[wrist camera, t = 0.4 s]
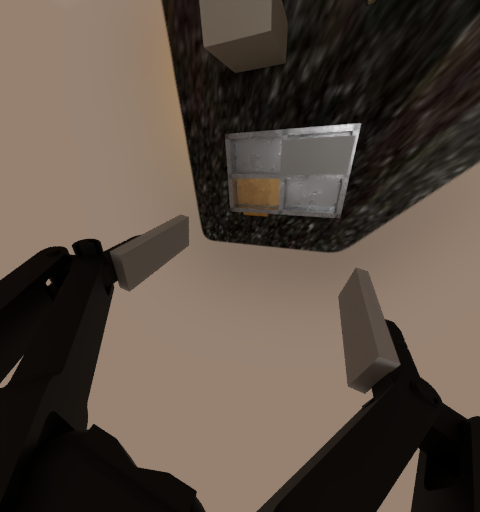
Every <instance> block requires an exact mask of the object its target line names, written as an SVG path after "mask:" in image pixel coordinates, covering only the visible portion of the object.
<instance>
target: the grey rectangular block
mask: <svg viewBox="0 0 480 512" xmlns="http://www.w3.org/2000/svg"><path fill="white" fill-rule="evenodd" d="M355 137H356V135H352V136H336V137H320V138H304V139H288V140H282V150H281V169H280V175H347V174H348V169H349V165H350V160H351V155H352V151H353V146H354V142H355Z"/></svg>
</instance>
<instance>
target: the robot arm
mask: <svg viewBox="0 0 480 512" xmlns="http://www.w3.org/2000/svg"><path fill="white" fill-rule="evenodd" d="M188 245H189V217H186V216H183V215H179V216H177V217H175V218H173V219H172V220H170V221H167V222H166V223H164V224H162V225H160V226H158V227H156V228H154V229H152V230H150V231H148V232H146V233H145V234H142V235H138V236H134V237H132V238H130V239H128V240H127V241H124V242H122V243H120V244H118V245H116V246H114V247H112V248H110V249H108V250H106V251H104V252H103V249H102V245H101V242H100V241H99V240H96V239H84V240H80V241H77V242H75V243H74V244H73V245H72V247H73V250H74V252H75V255H70V254H69V252H68V250H67V248H65V247H60V246H58V247H56V246H55V247H49V248H46V249H44V250H42V251H40V252H38V253H37V254H36V255H34V256H33V257H31V258H30V259H29V260H28V261H26V262H25V263H23V264H22V265H21V266H19V267H18V268H16V269H15V270H14V271H12V272H11V273H10V274H8V275H7V276H5V278H3V279H2V280H0V383H1V382H2V381H3V379H4V378H5V377H6V376H7V374H8V373H9V372H10V371H11V369H12V368H13V367H14V366H15V365H16V363H17V362H18V361H19V360H20V359H21V358H22V356H23V355H24V356H23V358H22V360H21V361H20V363H19V365H18V367H17V369H16V371H15V372H14V374H13V376H12V378H11V380H10V381H9V383H8V384H7V385H6V386H5V387H3V388H0V512H205V510H204V508H203V506H202V504H201V503H200V502H199V500H198V499H197V497H196V493H197V491H196V490H194V489H192V488H191V487H189V486H188V485H186V484H185V483H183V482H182V481H180V480H179V479H177V478H175V477H174V476H173V475H171V474H170V473H167V472H161V471H155V470H149V469H144V468H138V467H137V466H136V465H135V463H134V462H133V460H132V458H131V457H130V456H129V455H128V453H127V452H126V451H125V449H124V448H123V447H122V445H121V444H120V443H119V441H118V440H117V439H116V438H115V437H113V436H112V435H110V434H109V433H107V432H105V431H104V430H102V429H101V428H99V427H98V426H96V425H95V424H93V425H92V427H91V428H90V429H89V430H86V429H87V423H88V410H87V402H88V397H89V393H90V388H91V384H92V380H93V376H94V372H95V367H96V363H97V359H98V354H99V350H100V346H101V342H102V338H103V333H104V329H105V324H106V320H107V316H108V312H109V308H110V303H111V299H112V295H113V291H114V284H113V283H115V282H116V281H118V282H119V286H120V287H121V288H123V289H125V290H127V291H131V290H132V289H134V288H135V287H136V286H137V285H139V284H140V283H141V282H142V281H144V280H145V279H146V278H148V277H149V276H150V275H151V274H153V273H154V272H155V271H157V270H158V269H159V268H160V267H162V266H163V265H164V264H166V263H167V262H168V261H169V260H171V259H172V258H173V257H174V256H176V255H177V254H178V253H180V252H181V251H182V250H183V249H185V248H186V247H187V246H188ZM48 279H50V281H51V284H50V285H49V286H47V285H46V281H47V280H48ZM339 307H340V316H341V326H342V335H343V344H344V354H345V364H346V373H347V383H348V387H351V388H353V389H355V390H357V391H360V392H362V393H364V394H365V393H366V392H368V391H369V390H370V389H371V388H372V392H373V397H374V398H372V399H371V400H370V401H368V402H367V403H366V404H364V405H363V406H362V407H363V408H362V409H361V410H360V411H359V412H358V413H357V414H356V415H354V417H353V418H351V419H350V421H348V423H346V424H345V425H344V426H343V427H342V428H341V429H340V430H339V431H338V432H337V433H336V434H335V435H334V436H333V437H332V438H331V439H330V440H329V441H328V442H327V443H326V444H325V445H324V446H323V447H322V448H321V449H320V450H319V451H318V452H317V453H316V454H315V455H314V456H313V457H312V458H311V459H310V460H309V461H308V462H307V463H306V464H305V465H304V466H303V467H302V468H301V469H300V470H299V471H298V472H297V473H296V474H295V475H293V476H292V477H291V479H289V480H288V481H287V482H286V483H285V484H284V485H283V486H282V487H281V489H279V490H278V491H277V492H276V493H275V494H274V495H273V496H272V497H271V498H270V499H269V500H268V501H267V502H266V503H265V504H264V505H263V506H262V507H261V508H260V509H259V510H258V511H257V512H377V510H378V509H379V507H380V505H381V504H382V502H383V501H384V499H385V498H386V496H387V495H388V493H389V491H390V490H391V488H392V487H393V485H394V484H395V482H396V481H397V479H398V478H399V476H400V475H401V473H402V471H403V470H404V468H405V467H406V465H407V464H408V462H409V461H410V459H411V458H412V456H413V454H414V453H415V451H416V450H417V448H419V449H420V453H419V459H418V466H417V473H416V480H415V487H414V494H413V500H412V507H411V512H480V417H479V416H476V417H472V418H470V419H466V418H465V417H463V416H462V415H460V414H459V413H457V412H456V411H454V410H453V409H451V408H450V407H448V406H447V405H445V404H444V403H442V400H441V398H440V396H439V395H438V393H437V392H436V390H435V389H434V388H433V387H432V386H431V385H429V383H428V382H426V381H425V380H424V379H422V378H420V376H419V374H418V371H417V369H416V366H415V364H414V361H413V359H412V356H411V354H410V352H409V350H408V349H407V348H408V347H407V345H406V342H404V341H405V340H404V338H403V335H402V332H401V331H400V329H399V328H398V327H397V326H396V325H395V323H394V322H392V321H389V320H386V319H384V316H383V313H382V311H381V307H380V305H379V302H378V299H377V296H376V293H375V290H374V287H373V285H372V282H371V279H370V276H369V273H368V271H365V270H361V269H358V268H356V269H355V270H354V272H353V273H352V275H351V277H350V278H349V280H348V282H347V283H346V285H345V286H344V288H343V290H342V291H341V293H340V294H339Z"/></svg>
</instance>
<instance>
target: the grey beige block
mask: <svg viewBox="0 0 480 512" xmlns="http://www.w3.org/2000/svg"><path fill="white" fill-rule="evenodd" d="M199 3H200V13H201V23H202V33H203V43H204V48H205V49H206V50H208V51H209V52H210V53H211V54H213V55H214V56H215V57H216V58H217V59H219V60H220V61H221V62H222V63H224V64H225V65H226V66H227V67H228V68H230V69H231V70H232V71H233V72H235V73H238V72H243V71H248V70H253V69H259V68H264V67H269V66H274V65H280V64H285V63H286V50H287V31H288V22H287V18H286V14H285V11H284V7H283V4H282V0H199Z"/></svg>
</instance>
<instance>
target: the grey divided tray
mask: <svg viewBox="0 0 480 512" xmlns="http://www.w3.org/2000/svg"><path fill="white" fill-rule="evenodd" d="M360 127H361V123H357V124H345V125H332V126H320V127H307V128H295V129H282V130H270V131H257V132H245V133H232V134H225V143H226V157H227V171H228V185H229V199H230V211H234V212H244V215H255V216H268V215H269V214H281V215H297V216H312V217H328V218H340V217H341V212H342V208H343V203H344V199H345V194H346V190H347V185H348V181H349V176H350V172H351V167H352V163H353V158H354V154H355V149H356V145H357V140H358V136H359V131H360ZM352 135H356V137H355V142H354V146H353V151H352V155H351V160H350V165H349V169H348V174H347V175H280V169H281V150H282V140H288V139H304V138H320V137H336V136H352Z"/></svg>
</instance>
